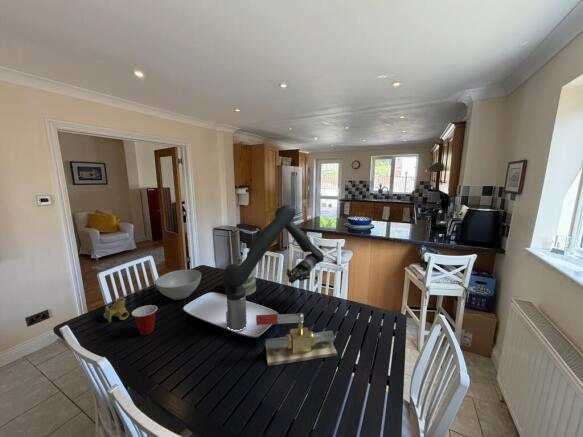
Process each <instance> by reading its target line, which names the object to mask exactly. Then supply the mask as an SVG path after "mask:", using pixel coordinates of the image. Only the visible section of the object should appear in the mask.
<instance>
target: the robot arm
mask: <svg viewBox="0 0 583 437" xmlns="http://www.w3.org/2000/svg"><path fill="white" fill-rule="evenodd" d="M274 214H275V218H274V219H273V220H272V221H271V222H270V223H269V224H267V226H264V228H263V229H262V230H261V231H260V232H259V233H258V234H257V235H256V236H255V238H253V240H252V241H251V243H250V246H249V249H248V252H247V255H246V257H245V258H244V260H242V262H243V263H242V264H241V265H240V266H238V265H237V263H231V264H228V265H227V266H226V267H225V268H224V271H223V286H224V291H225V292H224V293H225V294H226V308H227V310H226V312H225V317H226V320H225V322H226V328H227V327H229V328H230V329H233V330H240V329H243V328H244V327H246V328H247V326H246V324H247V303H246V300H247V299H246V296H245V289H244V287H243V286H242V285H243V284H244V283H245V282H246V280H247V279H248V277H249V276H250V274H251V273H252V272H253V271H254V269H255V268H256V267H257V265H258V263H259V262H260V261H261V259H262V258H263V257H264V255H265V254H266V253H267V252H268V251H269V249H270V248H271V246H273V244H274V242H276V240H277V239H278V237H279V235H281V233H282V231H283V230H284V229H285V230H287V232H288V233H289V234H290V235H291V237H292V238H293V239H294V241H295V242H296V244H297V245H298V247H299V248H300V249H301V251H302V252H303V253H308V254H307V255H305V257H304V259H302V260H300V261H299V263H297V264H296V265H295V267H294V268H292V269H291V270H290V268H289V269H288V268H287V269H286V275H287V277H288V282H289V283H290V284H293V283H295V282H296V281H299V282H300V281H306V280H309V279H311V272H312V271H313V269H315V268H316V265H317V264H320V263H322V262H323V261H324V259H325V256H324V253H323V252H322V251H321V250H320V249H319V248H318V247H316V246H315V245H314V244H313V243H312V241H311V240H310V239H309V237H308V235H307V234H306V233H305V232H304V231H303V230H302V229H300V228H299V227H298V225H297V224H296V223H295V222H294V218H295V216H296V209H295V208H294V206H293V205H290V204H286V205H285V204H284V205H282V206H280V207H278V208H277V209H276V211H275V213H274Z"/></svg>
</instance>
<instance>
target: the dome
mask: <svg viewBox="0 0 583 437" xmlns="http://www.w3.org/2000/svg"><path fill="white" fill-rule="evenodd" d="M242 263H243V257H242V256H241V255H240V254H239V256H238V257H237V263H236V265H238V266H240V265H241V264H242ZM256 282H257V279H256V277H255V276H254V272H253V271H252V273H251V274H250V276H249V277H248V279H247V280H246V282H245V283H244V284H243V285H242V286H243V287H244V289H245V297H248V296H251V295H252V294H254V293H255V292H256V291H257V285H256Z"/></svg>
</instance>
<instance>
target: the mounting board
mask: <svg viewBox="0 0 583 437" xmlns="http://www.w3.org/2000/svg"><path fill="white" fill-rule="evenodd" d="M265 351H266V361H267V367H270V366H278V365H283V364H284V365H285V364H289V363H296V362H304V361H309V360H317V359H323V358H330V357H337V356H338V352H337V350H336V348H335V346H334V344H333V342H326V343H319V344H315V346H312V347H311V352H306V353H300V354H293V353H292V349H291V350H287V348H283V349H276V350H268V351H267V349H266V348H265Z"/></svg>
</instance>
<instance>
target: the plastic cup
mask: <svg viewBox="0 0 583 437" xmlns="http://www.w3.org/2000/svg"><path fill="white" fill-rule="evenodd" d="M157 310H158V306H156V305H152V304H149V305H144V306H140V307H139V306H138V308H135V309H134V310H132V312H131V315H132V316H133V318H134V319H133V320H135V323H136V326H137V328H138V329H137V330H138V331H139V333H140V335H141V336H148V335H150V334H151V333H153V332H154V331H155V330H154V329H155V323H156V322H155V321H156V315H157V314H156V313H157Z"/></svg>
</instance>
